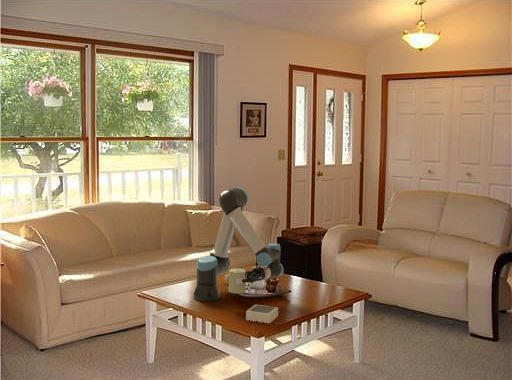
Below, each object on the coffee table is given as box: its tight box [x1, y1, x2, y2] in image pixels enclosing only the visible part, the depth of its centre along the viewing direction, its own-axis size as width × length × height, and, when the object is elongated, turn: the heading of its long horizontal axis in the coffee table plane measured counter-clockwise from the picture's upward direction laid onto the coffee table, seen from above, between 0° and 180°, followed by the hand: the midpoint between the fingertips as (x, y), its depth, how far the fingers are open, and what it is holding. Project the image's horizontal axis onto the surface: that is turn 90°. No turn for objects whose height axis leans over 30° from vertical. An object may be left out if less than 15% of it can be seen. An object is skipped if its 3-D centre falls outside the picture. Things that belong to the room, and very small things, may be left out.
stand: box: [245, 304, 279, 324], centre depth 328 cm, size 13×13×5 cm
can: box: [228, 267, 247, 294], centre depth 340 cm, size 9×9×12 cm
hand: (230, 279), depth 336 cm, fingers closed on can, 9 cm apart
